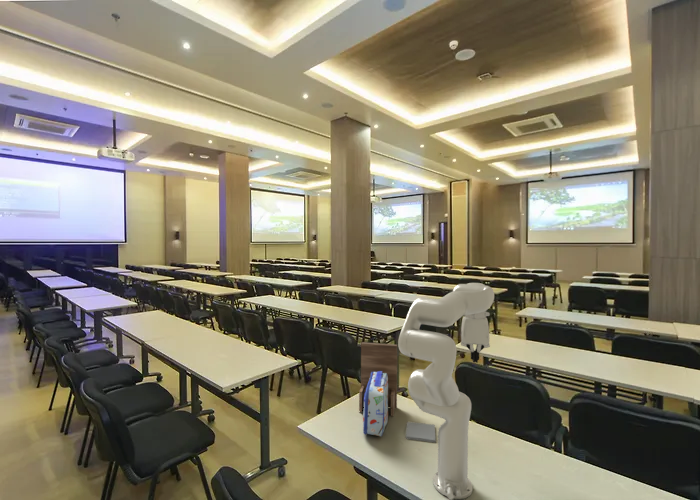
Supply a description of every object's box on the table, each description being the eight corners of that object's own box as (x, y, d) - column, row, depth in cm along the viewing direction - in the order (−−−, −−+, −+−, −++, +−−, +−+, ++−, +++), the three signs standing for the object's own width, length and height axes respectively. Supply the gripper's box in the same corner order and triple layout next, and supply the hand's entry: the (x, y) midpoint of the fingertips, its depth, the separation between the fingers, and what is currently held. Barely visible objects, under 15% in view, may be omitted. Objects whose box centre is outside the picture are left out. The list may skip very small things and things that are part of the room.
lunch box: (367, 408, 164) (367, 364, 164) (388, 410, 162) (389, 365, 162) (360, 440, 136) (361, 387, 136) (386, 443, 135) (386, 389, 135)
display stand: (395, 416, 156) (395, 350, 156) (357, 412, 160) (358, 347, 160) (396, 407, 166) (397, 344, 165) (361, 403, 170) (361, 342, 169)
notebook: (435, 444, 136) (435, 440, 136) (405, 440, 138) (405, 436, 138) (434, 428, 147) (434, 424, 147) (407, 425, 150) (407, 421, 150)
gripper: (493, 313, 132) (493, 359, 132) (454, 312, 135) (454, 356, 135) (497, 317, 125) (497, 366, 125) (456, 315, 128) (455, 363, 128)
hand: (474, 361), depth 130 cm, fingers closed
